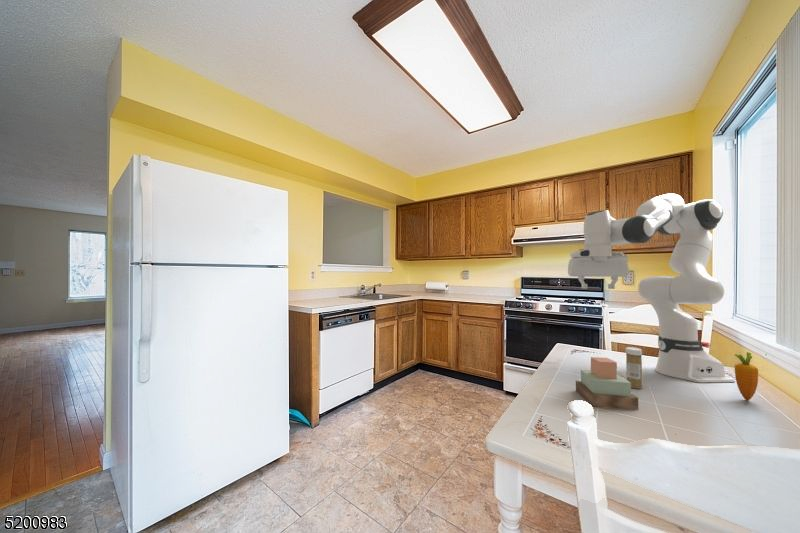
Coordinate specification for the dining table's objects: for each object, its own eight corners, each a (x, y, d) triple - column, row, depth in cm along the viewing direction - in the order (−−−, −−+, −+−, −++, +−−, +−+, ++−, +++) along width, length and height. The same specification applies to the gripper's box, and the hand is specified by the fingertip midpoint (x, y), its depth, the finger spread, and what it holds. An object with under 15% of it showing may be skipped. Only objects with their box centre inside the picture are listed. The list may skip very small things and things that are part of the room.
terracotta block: (607, 373, 95) (607, 357, 95) (616, 378, 90) (616, 362, 90) (590, 372, 95) (590, 357, 95) (599, 377, 90) (599, 361, 91)
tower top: (614, 384, 96) (614, 371, 96) (631, 396, 86) (631, 382, 86) (580, 381, 98) (580, 369, 98) (593, 393, 89) (593, 379, 89)
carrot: (742, 402, 90) (741, 353, 91) (730, 396, 95) (729, 349, 95) (764, 404, 89) (762, 355, 89) (751, 398, 93) (750, 351, 94)
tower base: (614, 394, 97) (614, 382, 97) (638, 411, 85) (638, 397, 85) (575, 392, 99) (575, 380, 99) (593, 408, 87) (593, 395, 87)
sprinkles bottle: (644, 387, 102) (644, 348, 103) (639, 390, 100) (639, 350, 100) (629, 383, 106) (628, 346, 106) (623, 385, 104) (623, 347, 104)
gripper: (622, 253, 114) (622, 288, 113) (566, 253, 117) (566, 288, 116) (632, 251, 107) (633, 289, 107) (572, 252, 110) (573, 288, 110)
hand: (597, 288), depth 112 cm, fingers open, 8 cm apart
